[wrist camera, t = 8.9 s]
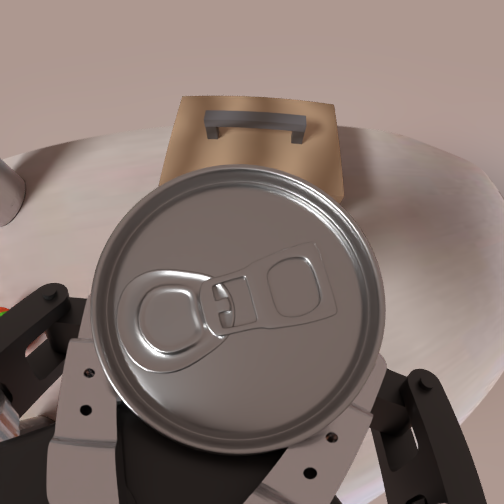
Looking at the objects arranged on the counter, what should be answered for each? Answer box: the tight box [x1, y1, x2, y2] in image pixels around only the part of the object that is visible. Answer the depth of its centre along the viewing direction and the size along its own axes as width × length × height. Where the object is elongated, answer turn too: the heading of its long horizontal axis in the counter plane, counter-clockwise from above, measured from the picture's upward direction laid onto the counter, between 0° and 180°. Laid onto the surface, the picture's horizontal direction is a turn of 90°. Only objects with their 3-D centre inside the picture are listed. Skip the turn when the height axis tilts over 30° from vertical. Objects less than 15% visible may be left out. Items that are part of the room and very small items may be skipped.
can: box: [90, 164, 386, 456], centre depth 11 cm, size 6×6×12 cm
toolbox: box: [159, 96, 344, 204], centre depth 29 cm, size 17×22×13 cm
